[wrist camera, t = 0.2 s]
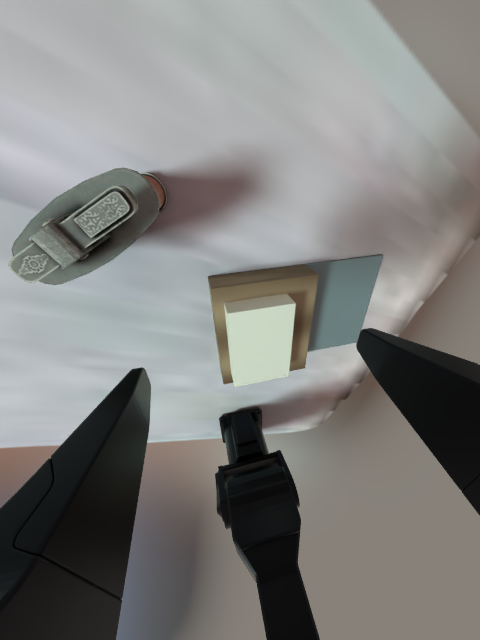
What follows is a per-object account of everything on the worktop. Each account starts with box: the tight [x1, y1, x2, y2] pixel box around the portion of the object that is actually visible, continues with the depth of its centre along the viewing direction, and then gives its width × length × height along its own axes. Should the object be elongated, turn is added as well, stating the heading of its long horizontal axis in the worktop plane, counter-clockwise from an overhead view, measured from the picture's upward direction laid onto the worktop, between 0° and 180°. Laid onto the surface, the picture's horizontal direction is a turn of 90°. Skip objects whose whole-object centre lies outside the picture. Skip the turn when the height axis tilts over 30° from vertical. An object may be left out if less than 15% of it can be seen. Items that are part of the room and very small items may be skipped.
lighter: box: [8, 168, 168, 285], centre depth 13 cm, size 8×3×10 cm, turn 119°
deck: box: [208, 264, 319, 384], centre depth 24 cm, size 12×10×3 cm
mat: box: [305, 255, 383, 352], centre depth 27 cm, size 12×9×1 cm
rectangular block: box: [224, 294, 296, 387], centre depth 22 cm, size 9×6×2 cm, turn 3°
